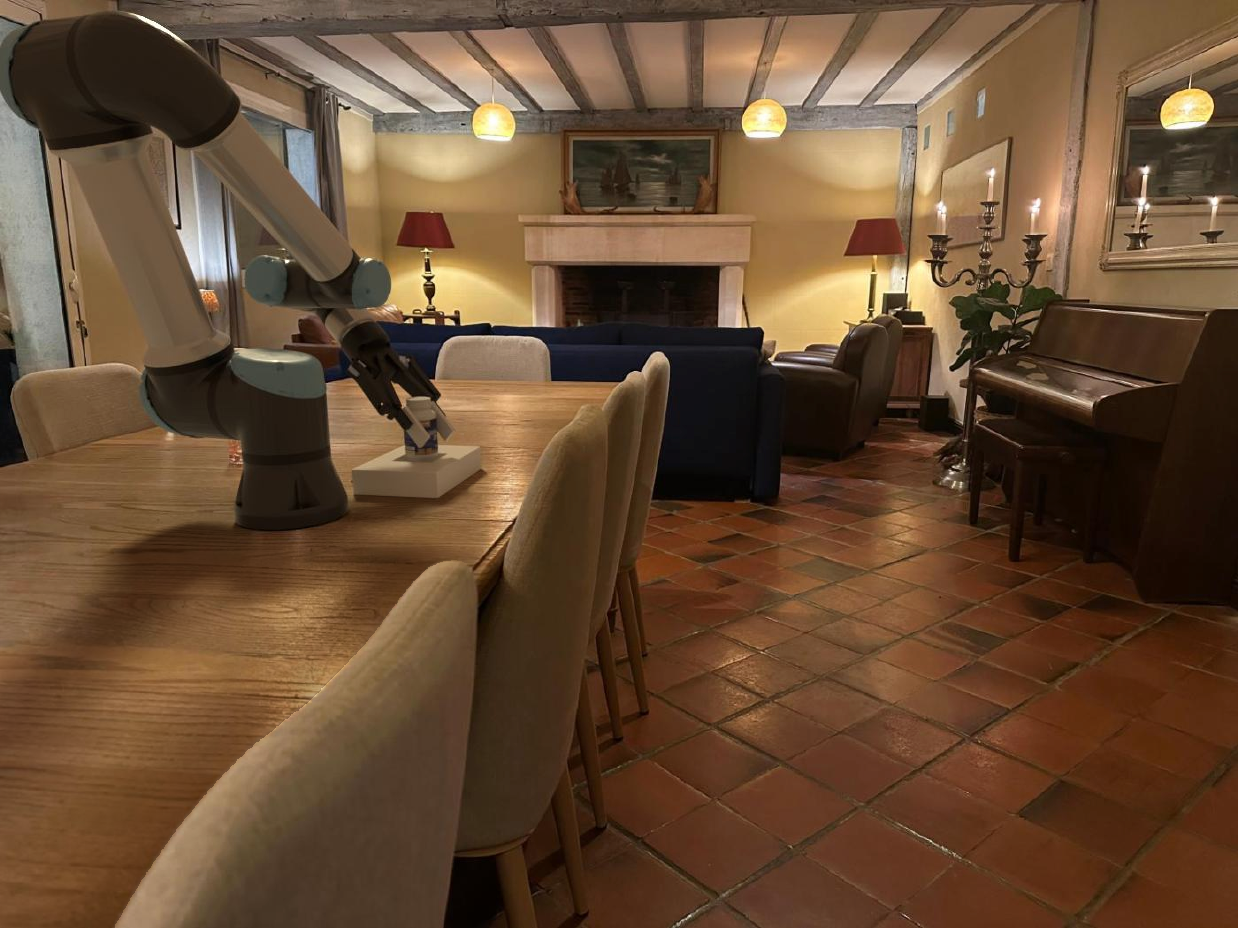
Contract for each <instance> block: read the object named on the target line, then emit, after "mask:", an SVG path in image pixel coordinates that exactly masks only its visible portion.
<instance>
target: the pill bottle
mask: <svg viewBox="0 0 1238 928" xmlns="http://www.w3.org/2000/svg"><path fill="white" fill-rule="evenodd" d="M406 406H408V408H409V409H410V410H411V412H412V413H413V414H414V416H415V417H416V418H417V420H418V421H419V422H420V424H421V425H422V426H423V428H424V429H425V430H426V431H427V433H428V434H429V435H430V438H429V439H428V441H427V442H426V443H425V444H424V446H423V447H421V448H419V447H418V446H417V445H416V443H415V442H414V441H413V439H412V438H411V437H410V435H409V434H408V433H407V431H406V430H404V429H403V439H404V440H403V441H404V445H405V454H406V457H408V458H412V459H426V458H431V457H435V456H437V455H438V445H439V444H438V443H439V442H438V441H439V440H438V432H437V421H436V413H435V412H434V411H433V410H430V407H431V398H430V397H411V396H410V397H407V398H405V407H406Z"/></svg>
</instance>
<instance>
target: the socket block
mask: <svg viewBox="0 0 1238 928" xmlns="http://www.w3.org/2000/svg"><path fill="white" fill-rule="evenodd" d="M482 466H483V465H482V449H481V446H479V445H477V446H476V445H449V444H445V445H444V444H441V445H440V444H438V455H437V456H435V457H431V458H426V459H412V458H408V457H406V454H405V444H403V445H401V446H399V447H397V448H395V449H392V450H391V451H388V452H386V453H384V454H381V455H380V456H378V457H375V458H374V459H372V460H369V461H367V462H365V463H363V464H361V465H358V466H356V467H354V468H352V469H351V477H352V478H351V479H352V489H353V495H357V496H358V495H359V496H360V495H361V496H378V497H379V496H380V497H381V496H384V497H406V498H407V497H408V498H426V499H439V498H440V497H442V496H444V495H445V494H446V493H447V492H449V491H451V490H452V489H454V488H455V487H457V486H459V485H460V484H461V483H462V482H464V481H465V480H466V479H468V478H469V477H471V476H472V475H474V474H476V473H478V471H480V470H482V469H483V468H482Z"/></svg>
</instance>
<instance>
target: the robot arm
mask: <svg viewBox="0 0 1238 928" xmlns="http://www.w3.org/2000/svg"><path fill="white" fill-rule="evenodd" d="M0 94H1V96H2V99H4V102H5V104H6V105H7V106H8V107H9V109H10V110H11V111H12V113H13V114H14V115H16V117H17V118H19V119H22V120H23V121H25V123H26V124H27V125H28V126H30V127H32V128H34V129H36V130H38V131H40V132H41V135H42V136H43V139H44V141H45V143H46V145H47V147H48V150H49V152H50V154H52V155H54V156H56V157H58V158H59V159H61V160H63V161H65V162H66V163H68V165H70V166H71V168H72V171H73V173H74V176H75V178H76V179H77V183H78V184H79V187H80V190H81V191H82V192H81V193H82V194H83V196H84V198H85V201H86V203H87V205H88V208H89V210H90V213H91V215H92V217H93V219H94V222H95V225H96V227H97V229H98V231H99V233H100V236H101V238H102V240H103V242H104V246H105V248H106V250H107V252H108V255H109V257H110V259H111V261H112V264H113V265H114V268H115V271H116V273H117V275H118V278H119V280H120V283H121V284H122V287H123V290H124V291H125V293H126V296H127V298H128V301H129V303H130V306H131V308H132V310H133V312H134V315H135V317H136V320H137V321H138V324H139V327H140V329H141V331H142V334H143V336H144V338H145V340H146V343H147V349H146V350H145V352H144V353H143V355H142V358H141V361H142V364H143V367H144V369H143V371H142V373H141V375H140V380H141V381H142V383H141V385H138V394H139V395H138V396H139V399H140V403H141V406H142V409H143V410H144V411H145V413H146V415H147V417H148V418H149V419H150V420H151V422H153V423H154V424H155V425H156V426H157V427H159V428H160V429H162V430H164V431H166V432H168V433H171V434H174V435H179V436H184V437H189V438H191V439H205V438H206V439H207V438H209V439H217V440H218V439H220V440H229V441H230V440H233V441H240V449H241V455H242V456H241V457H242V472H241V474H240V475H241V476H240V479H239V484H238V486H237V487H238V488H237V492H236V495H235V496H236V497H235V501H234V507H233V509H234V518H235V519H234V520H235V523H236V524H237V525H238V526H240V527H242V528H246V529H251V530H252V529H253V530H260V531H275V530H276V531H277V530H281V531H282V530H293V529H300V528H307V527H312V526H313V527H314V526H318V525H322V524H325V523H329V522H332V521H335V520H337V519H339V518H342V517H343V516H345V515H346V514H347V513H348V512H349V497H348V493H347V492H346V489H345V486H344V484H343V483H342V480H341V478H340V475H339V473H338V471H337V469H336V467H335V464H334V462H333V458H332V449H331V438H330V437H331V434H330V425H329V424H330V423H329V422H330V421H329V411H328V396H327V395H328V394H327V391H328V387H327V383H326V381H325V375H324V374H325V373H324V369H323V366H322V363H321V361H320V360H319V359H318V358H317V357H316V356H313V355H312V354H310V353H306V352H303V351H298V350H297V351H296V350H291V349H290V350H289V349H285V348H283V349H282V348H281V349H280V348H279V349H275V348H267V347H266V348H265V347H264V348H261V347H259V348H246V349H245V348H244V349H239V350H237V351H235V348H234V345H233V342H232V339H231V338H230V336H229V335H228V334H226V333H224V332H222V331H220V330H218V329H216V328H215V327H214V324H213V322H212V319H211V317H210V315H209V312H208V309H207V307H206V304H205V301H204V299H203V295H202V294H201V290H200V288H199V286H198V283H197V280H196V278H195V275H194V273H193V270H192V267H191V265H190V262H189V259H188V257H187V254H186V252H185V249H184V246H183V243H182V240H181V239H180V235H179V233H178V231H177V228H176V226H175V225H176V224H175V222H174V220H173V218H172V215H171V212H170V210H169V207H168V204H167V201H166V200H165V197H164V194H163V190H162V189H161V186H160V184H159V180H158V178H157V176H156V173H155V171H154V168H153V165H152V163H151V159H150V157H149V155H148V147H149V146H150V144H151V141H152V140H153V137H154V136H155V134H154V131H153V128H155V129H157V130H159V132H161V133H163V134H164V135H165V136H166V137H167V138H168V139H170V141H171V142H172V143H173V144H174V145H175V146H176V147H177V148H178V149H180V150H183V151H192V152H193V153H194V154H195V155H196V156H197V157H198V159H200V160H201V161H202V162H203V163H204V165H205V166H206V167H207V168H208V169H209V170H210V171H211V172H212V173H213V175H215V177H217V178H218V179H219V181H220V182H221V183H222V184H223V186H225V187H226V188H227V189H228V190H229V192H231V193H232V195H234V198H235V197H236V199H237V200H238V201H239V202H240V203H241V204H242V205H243V207H245V209H246V210H248V212H249V213H250V214H251V215H252V216H253V217H254V218H255V219H256V221H258V222H259V223H260V225H261V226H263V228H264V229H265V230H266V231H267V232H268V233H269V234H270V236H271V237H273V238H274V240H276V242H277V243H278V244H279V245H280V246H281V247H282V248H283V249H284V250H285V251H286V252H287V253H288V254H289V256H291V259H286V258H284V259H283V258H281V257H280V256H276V255H274V256H271V255H264V254H263V255H262V254H261V255H258V256H256V257H254V258H252V260H250V262H249V263H248V264H247V266H246V269H245V271H244V283H243V284H244V287H245V290H246V292H247V294H248V295H249V296H250V298H251V299H252V300H254V301H255V302H257V303H258V304H259V303H260V304H263V305H266V306H268V307H278V308H285V309H291V310H297V311H298V310H299V311H302V312H309V313H312V314H314V315H316V317H317V318H318V319H319V321H320V322H321V324H322V325H323V326H324V328H325V329H326V330H327V331H328V332H329V334H330V335H331V336H332V338H333V339H334V340H335V341H336V343H337V345H339V346H340V349H341V350H342V352H343V353H344V355H345V356H346V358H348V360H349V361H350V362H351V364H350V365H349V367H348V368H347V369H346V374H347V375H348V376H349V377H351V378H352V380H354V381H355V383H356V384H357V385H358V386H359V388H360V389H361V392H362V393H363V394H364V395H365V396H366V398H367V400H368V401H369V402H370V404H371V405H372V406H373V408H374V409H375V410H376V412H377V414H378V415H380V417H381V416H382V417H385V415H386V419H388V420H389V421H393V420H394V419H395V421H396V422H397V423H398V424H399V425H398V426H400V427H401V429H402V430H403V431H404V430H406V431H407V433H408V434H409V435H410V437H411V438H412V439H413V441H414V442H415V443H416V445H417V446H418V447H419V448H421V447H423V446H424V444H425V443H426V442H427V441H428V439H429V438H430V435H429V434H428V433H427V431H426V430H425V429H424V428H423V426H422V425H421V424H420V422H419V421H418V420H417V418H416V417H415V416H414V414H413V413H412V412H411V410H410V409H409V408H408V406H406V405H405V406H403V404H402V402H401V400H400V397H399V395H398V393H397V391H396V389H395V387H394V385H398V386H399V387H400V388H401V389H403V390H404V391H405V392H406V393H407V394H408V395H409V396H410V397H430V398H431V407H430V410H433V411H434V412H435V413H436V421H437V434H438V435H439V436H440V437H441V438H442V439H443V441H444V442H447V441H449V439H450V438H451V437H453V434H454V433H456V431H457V429H455V427H454V426H453V424H452V423H451V422H450V420H449V419H448V418H447V416H446V413H445V412H444V411H443V409H442V408H441V407H440V405H439V404H438V401H439V399H441V397H442V394H441V392H440V391H439V390H438V388H437V387H436V386H435V384H434V383H432V381H431V380H430V378H429V377H428V375H427V374H426V373H425V372H424V371H423V370H422V369H421V368H420V366H419V365H418V363H417V362H416V359H415V357H414V355H413V354H412V353H407V355H406V356H404V355H399V353H398V352H396V351H395V349H393V348H392V346H391V342H390V340H391V339H390V337H389V335H388V333H386V331H385V330H384V329H383V328H382V326H381V325H380V323H378V322H377V320H376V318H375V316H374V315H373V314H372V313H371V312H370V310H369V309H377V308H381V307H382V306H384V305H385V304H386V303H387V301H388V300H389V298H390V297H389V296H390V295H391V290H392V280H391V279H392V278H391V274H390V271H389V269H388V267H387V266H386V264H385V263H383V261H381V260H380V259H376V258H370V257H368V256H365V257H361V256H359V255H358V253H357V252H356V251H355V249H354V248H353V247H352V246H351V244H350V243H349V242H348V241H347V239H345V238H344V236H343V235H342V233H340V231H339V230H338V229H337V228H336V227H335V225H334V224H333V222H332V221H330V219H329V218H328V217H327V216H326V214H325V213H324V212H323V211H322V209H321V208H320V207H319V205H317V203H315V201H314V199H312V197H311V196H310V194H308V192H307V191H306V190H305V189H304V188H303V186H302V185H301V184H300V183H299V182H298V180H297V179H296V178H295V177H294V175H293V174H292V173H291V172H290V171H289V169H288V168H287V167H286V166H285V165H284V164H283V162H282V160H280V159H279V157H278V156H277V155H276V154H275V152H274V151H273V150H272V149H271V148H270V146H269V145H268V144H267V143H266V142H265V140H264V139H263V138H262V137H261V135H260V134H259V133H258V132H257V131H256V129H255V128H254V127H253V125H251V123H250V122H249V121H248V120H247V117H245V115H243V113H242V107H243V106H242V101H241V98H240V97H239V96H238V94H237V93H236V92H235V90H233V88H232V87H231V85H229V83H228V82H227V81H226V80H225V79H224V77H222V76H221V74H219V72H218V71H217V70H216V69H215V67H213V66H212V65H211V64H210V63H209V61H207V60H206V59H205V58H204V57H203V56H202V55H201V54H199V53H198V52H197V51H196V50H195V49H194V48H193V47H191V46H190V45H189V44H188V43H186V42H185V41H183V40H182V39H181V38H180V37H178V36H177V35H176V34H175V33H173V32H171V31H170V30H168V29H166V28H165V27H163V26H162V25H160V24H158V23H156V22H155V21H152V20H150V19H148V18H145V17H144V16H141V15H138V14H135V13H133V12H128V11H122V10H116V9H115V10H101V11H97V12H93V13H91V14H90V13H89V14H83V15H76V16H69V17H62V18H60V17H59V18H53V19H51V18H50V19H42V20H37V21H33V22H32V23H30V24H26V25H23V26H19V27H17V28H15V29H14V30H12V31H11V32H9V33H8V34H7V35H6V36H5V37H4V38H3V40H2V41H1V44H0ZM152 127H153V128H152ZM393 384H394V385H393ZM402 407H403V408H402Z"/></svg>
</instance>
